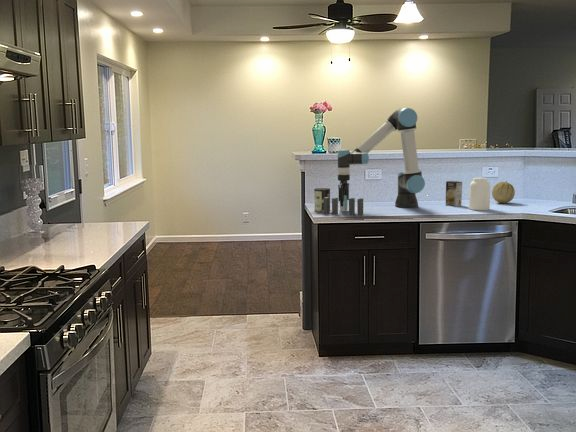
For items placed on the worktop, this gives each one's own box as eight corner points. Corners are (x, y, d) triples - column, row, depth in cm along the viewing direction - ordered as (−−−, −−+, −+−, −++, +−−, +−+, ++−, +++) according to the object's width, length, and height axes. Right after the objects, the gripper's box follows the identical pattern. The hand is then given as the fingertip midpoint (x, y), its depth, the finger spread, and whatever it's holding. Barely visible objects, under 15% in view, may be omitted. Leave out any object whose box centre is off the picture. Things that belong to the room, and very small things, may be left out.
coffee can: (331, 209, 399) (331, 188, 397) (329, 211, 389) (329, 189, 387) (315, 209, 401) (315, 188, 399) (313, 211, 391) (313, 189, 389)
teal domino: (346, 210, 392) (346, 195, 391) (343, 211, 388) (343, 195, 386) (343, 210, 393) (343, 195, 392) (341, 211, 389) (340, 195, 387)
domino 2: (338, 213, 380) (337, 197, 379) (335, 214, 376) (334, 198, 374) (335, 213, 381) (334, 197, 379) (332, 214, 376) (331, 198, 375)
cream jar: (472, 207, 397) (473, 176, 394) (492, 208, 390) (493, 177, 387) (466, 209, 387) (466, 178, 384) (485, 211, 380) (486, 179, 377)
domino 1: (329, 213, 382) (329, 197, 381) (326, 214, 378) (326, 198, 376) (326, 212, 383) (326, 197, 382) (323, 214, 379) (323, 198, 377)
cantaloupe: (488, 203, 415) (489, 181, 413) (495, 201, 427) (495, 179, 425) (511, 204, 407) (512, 182, 405) (517, 202, 419) (517, 180, 417)
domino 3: (354, 214, 375) (354, 198, 374) (351, 215, 371) (351, 199, 369) (351, 214, 376) (351, 198, 375) (348, 215, 372) (348, 198, 370)
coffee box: (444, 205, 412) (445, 181, 410) (451, 204, 416) (451, 180, 413) (455, 206, 405) (456, 182, 402) (462, 205, 408) (462, 181, 406)
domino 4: (363, 214, 373) (363, 198, 371) (360, 215, 368) (360, 199, 367) (360, 214, 374) (360, 198, 372) (357, 215, 369) (357, 199, 368)
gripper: (343, 173, 397) (343, 208, 400) (332, 175, 381) (333, 212, 384) (354, 173, 393) (354, 209, 397) (344, 175, 377) (344, 212, 381)
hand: (343, 210), depth 390 cm, fingers closed on teal domino, 5 cm apart
